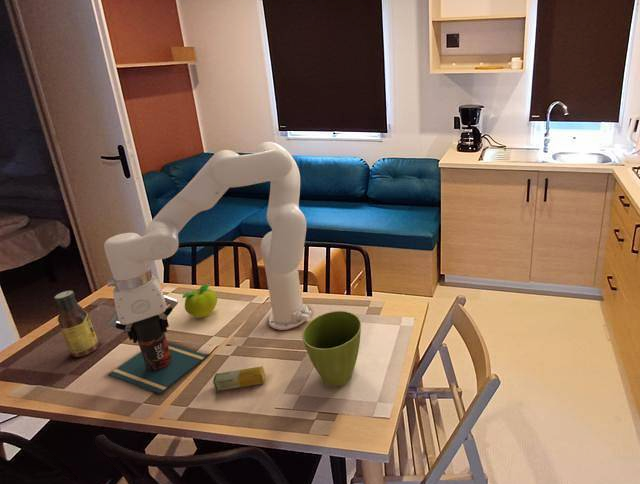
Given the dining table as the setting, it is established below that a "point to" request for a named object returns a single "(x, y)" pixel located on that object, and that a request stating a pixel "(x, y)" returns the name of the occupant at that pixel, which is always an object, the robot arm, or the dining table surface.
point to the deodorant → (152, 343)
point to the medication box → (239, 378)
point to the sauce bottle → (75, 325)
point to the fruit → (200, 301)
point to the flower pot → (333, 345)
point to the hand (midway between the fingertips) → (150, 334)
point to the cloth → (163, 377)
